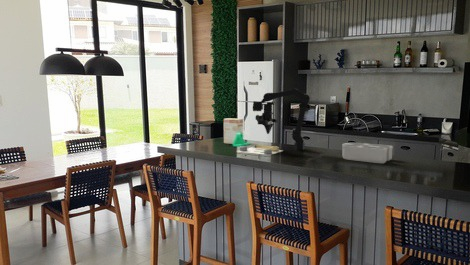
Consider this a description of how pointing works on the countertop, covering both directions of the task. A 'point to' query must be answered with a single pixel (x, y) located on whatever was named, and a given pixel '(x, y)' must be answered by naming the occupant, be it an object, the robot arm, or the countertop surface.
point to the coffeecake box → (232, 129)
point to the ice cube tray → (367, 152)
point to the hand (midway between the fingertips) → (267, 133)
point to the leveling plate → (257, 151)
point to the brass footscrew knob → (267, 147)
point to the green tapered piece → (239, 140)
